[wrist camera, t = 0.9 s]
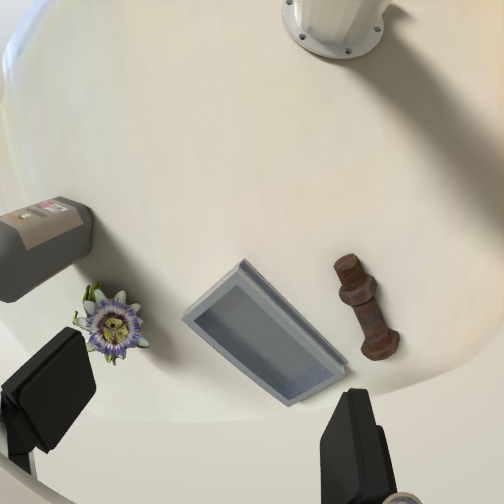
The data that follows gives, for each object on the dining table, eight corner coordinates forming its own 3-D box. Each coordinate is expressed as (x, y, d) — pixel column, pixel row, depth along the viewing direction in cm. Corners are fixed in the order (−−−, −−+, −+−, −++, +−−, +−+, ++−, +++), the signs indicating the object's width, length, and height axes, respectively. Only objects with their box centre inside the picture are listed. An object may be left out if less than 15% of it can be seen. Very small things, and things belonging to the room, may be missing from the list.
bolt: (345, 247, 37) (381, 331, 40) (316, 268, 36) (357, 353, 39) (373, 249, 32) (407, 342, 35) (343, 273, 31) (382, 366, 34)
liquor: (56, 192, 38) (-104, 255, 10) (96, 206, 38) (-83, 292, 10) (53, 244, 42) (-83, 327, 13) (91, 261, 41) (-53, 370, 13)
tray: (244, 258, 38) (239, 268, 35) (345, 359, 41) (348, 373, 38) (186, 309, 42) (179, 321, 38) (286, 394, 45) (285, 408, 42)
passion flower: (150, 290, 48) (163, 348, 39) (114, 323, 49) (121, 379, 41) (99, 258, 40) (99, 319, 31) (64, 298, 41) (62, 358, 33)
